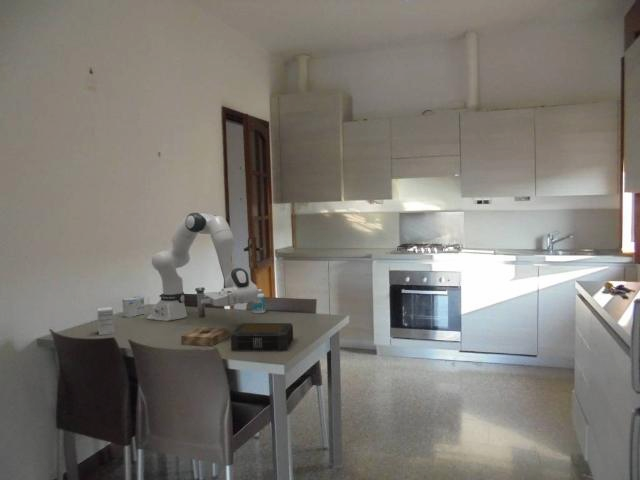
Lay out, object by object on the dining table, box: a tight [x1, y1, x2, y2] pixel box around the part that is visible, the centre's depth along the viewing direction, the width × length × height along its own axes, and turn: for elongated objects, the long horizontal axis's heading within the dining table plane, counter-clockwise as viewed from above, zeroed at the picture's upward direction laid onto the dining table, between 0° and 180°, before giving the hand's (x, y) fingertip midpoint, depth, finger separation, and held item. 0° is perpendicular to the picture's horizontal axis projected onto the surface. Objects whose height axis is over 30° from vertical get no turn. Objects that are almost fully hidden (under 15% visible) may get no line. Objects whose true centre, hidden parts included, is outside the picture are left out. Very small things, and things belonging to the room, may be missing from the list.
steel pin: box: [194, 287, 206, 319], centre depth 236 cm, size 4×4×14 cm
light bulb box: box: [121, 295, 146, 318], centre depth 289 cm, size 11×7×11 cm, turn 144°
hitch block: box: [180, 326, 229, 347], centre depth 232 cm, size 16×16×4 cm
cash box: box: [230, 322, 294, 352], centre depth 223 cm, size 25×20×8 cm
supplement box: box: [96, 306, 115, 336], centre depth 252 cm, size 7×7×13 cm
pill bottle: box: [251, 288, 266, 315], centre depth 287 cm, size 8×7×14 cm
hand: (199, 300), depth 235 cm, fingers closed on steel pin, 3 cm apart
